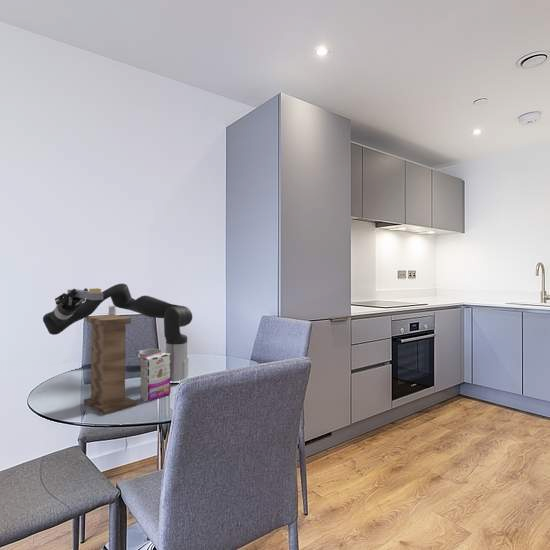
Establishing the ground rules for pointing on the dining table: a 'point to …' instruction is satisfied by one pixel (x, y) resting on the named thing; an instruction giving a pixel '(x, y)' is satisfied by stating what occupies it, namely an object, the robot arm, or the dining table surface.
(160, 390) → the candy bar box
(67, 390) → the dining table surface
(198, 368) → the dining table surface
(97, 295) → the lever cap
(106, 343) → the stand
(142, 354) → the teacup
